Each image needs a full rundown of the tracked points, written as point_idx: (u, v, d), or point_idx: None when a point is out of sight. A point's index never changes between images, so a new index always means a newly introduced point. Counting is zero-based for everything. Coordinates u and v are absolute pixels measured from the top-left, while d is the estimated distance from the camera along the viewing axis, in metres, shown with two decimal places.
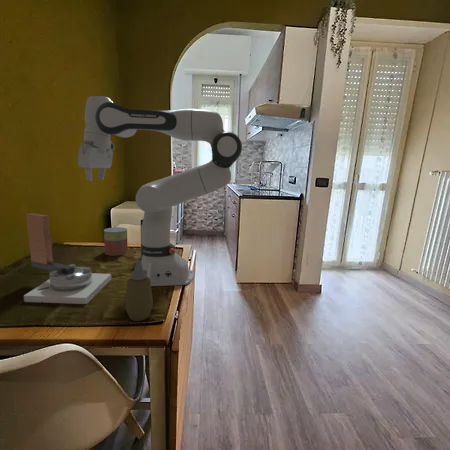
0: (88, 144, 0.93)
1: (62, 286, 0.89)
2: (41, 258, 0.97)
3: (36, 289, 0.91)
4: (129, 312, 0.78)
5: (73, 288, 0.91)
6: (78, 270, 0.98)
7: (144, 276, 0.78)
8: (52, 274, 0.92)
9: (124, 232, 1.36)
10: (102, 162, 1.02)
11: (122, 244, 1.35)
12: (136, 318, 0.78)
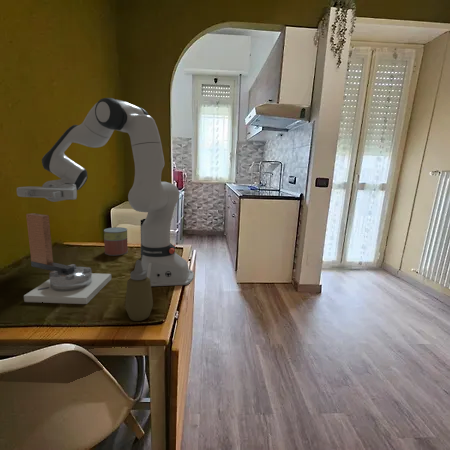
0: None
1: (62, 286, 0.89)
2: (41, 258, 0.97)
3: (36, 289, 0.91)
4: (129, 312, 0.78)
5: (73, 288, 0.91)
6: (78, 270, 0.98)
7: (144, 276, 0.78)
8: (52, 274, 0.92)
9: (124, 232, 1.36)
10: (50, 188, 1.07)
11: (122, 244, 1.35)
12: (136, 318, 0.78)
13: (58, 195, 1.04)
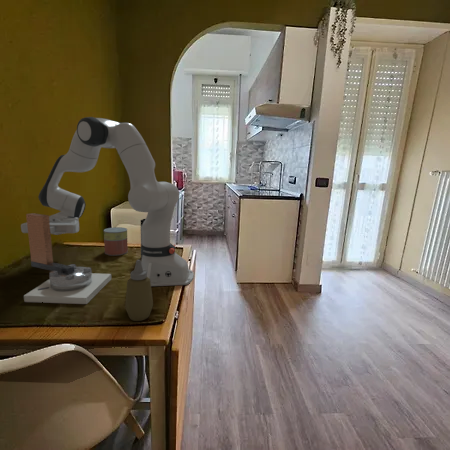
0: None
1: (62, 286, 0.89)
2: (41, 258, 0.97)
3: (36, 289, 0.91)
4: (129, 312, 0.78)
5: (73, 288, 0.91)
6: (78, 270, 0.98)
7: (144, 276, 0.78)
8: (52, 274, 0.92)
9: (124, 232, 1.36)
10: (53, 223, 1.10)
11: (122, 244, 1.35)
12: (136, 318, 0.78)
13: (51, 231, 1.06)
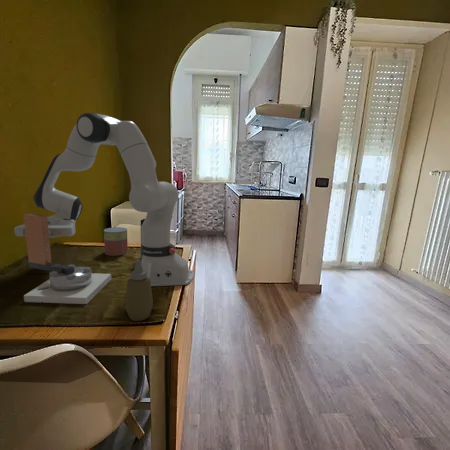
0: None
1: (63, 286, 0.89)
2: (39, 259, 0.97)
3: (36, 289, 0.91)
4: (129, 312, 0.78)
5: (74, 288, 0.91)
6: (78, 270, 0.98)
7: (144, 276, 0.78)
8: (52, 274, 0.92)
9: (124, 232, 1.36)
10: (48, 226, 1.05)
11: (122, 244, 1.35)
12: (136, 318, 0.78)
13: None
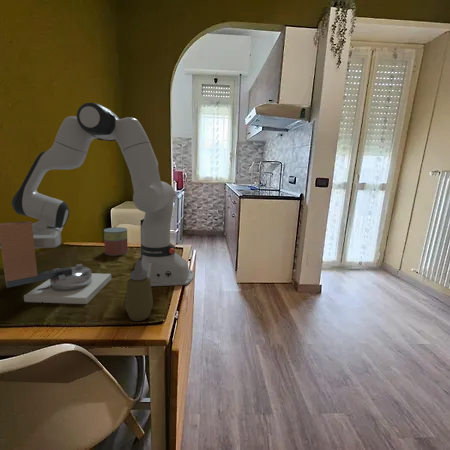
0: None
1: (84, 282, 0.93)
2: (27, 272, 0.85)
3: (36, 289, 0.91)
4: (129, 312, 0.78)
5: (90, 281, 0.97)
6: None
7: (144, 276, 0.78)
8: (63, 277, 0.90)
9: (124, 232, 1.36)
10: None
11: (122, 244, 1.35)
12: (136, 318, 0.78)
13: None
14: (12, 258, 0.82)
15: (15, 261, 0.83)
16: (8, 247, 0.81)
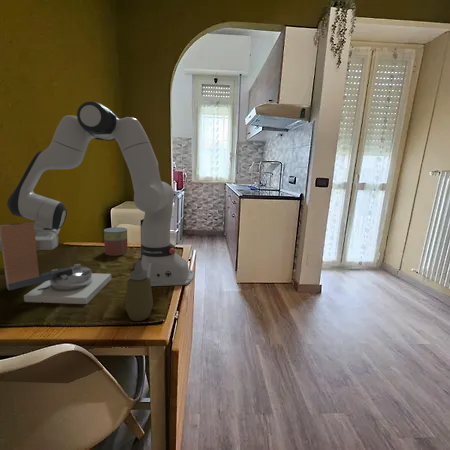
0: None
1: (86, 281, 0.94)
2: (29, 273, 0.84)
3: (36, 289, 0.91)
4: (129, 312, 0.78)
5: (91, 280, 0.97)
6: None
7: (144, 276, 0.78)
8: (66, 277, 0.90)
9: (124, 232, 1.36)
10: None
11: (122, 244, 1.35)
12: (136, 318, 0.78)
13: None
14: (14, 260, 0.81)
15: (17, 263, 0.81)
16: (10, 249, 0.79)
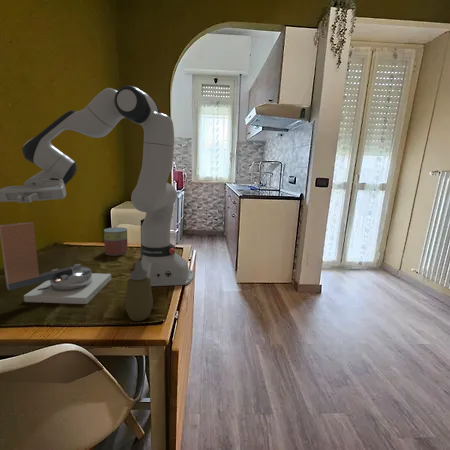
0: None
1: (86, 281, 0.94)
2: (29, 273, 0.84)
3: (36, 289, 0.91)
4: (129, 312, 0.78)
5: (91, 280, 0.97)
6: None
7: (144, 276, 0.78)
8: (66, 277, 0.90)
9: (124, 232, 1.36)
10: (34, 188, 0.92)
11: (122, 244, 1.35)
12: (136, 318, 0.78)
13: (35, 198, 0.90)
14: (14, 260, 0.81)
15: (17, 263, 0.81)
16: (10, 249, 0.79)
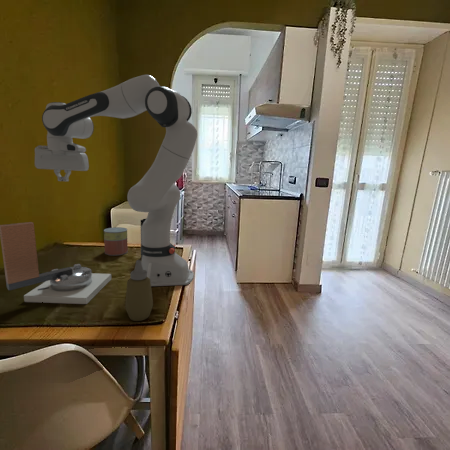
0: (41, 148, 1.07)
1: (86, 281, 0.94)
2: (29, 273, 0.84)
3: (36, 289, 0.91)
4: (129, 312, 0.78)
5: (91, 280, 0.97)
6: None
7: (144, 276, 0.78)
8: (66, 277, 0.90)
9: (124, 232, 1.36)
10: (62, 164, 1.07)
11: (122, 244, 1.35)
12: (136, 318, 0.78)
13: (69, 174, 1.10)
14: (14, 260, 0.81)
15: (17, 263, 0.81)
16: (10, 249, 0.79)
